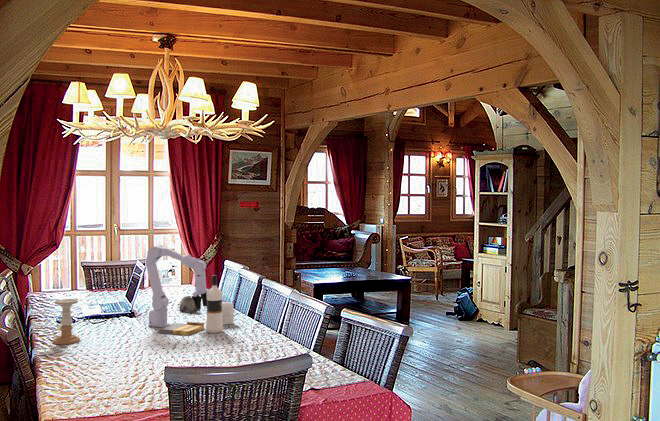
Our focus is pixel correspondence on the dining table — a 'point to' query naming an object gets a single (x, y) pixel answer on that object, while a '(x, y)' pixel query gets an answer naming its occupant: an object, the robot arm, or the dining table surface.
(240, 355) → the game piece set
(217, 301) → the vodka
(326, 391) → the dining table surface
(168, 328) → the grey flat block
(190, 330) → the tan wooden flat block
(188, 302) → the mineral rock
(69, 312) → the candle holder
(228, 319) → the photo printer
